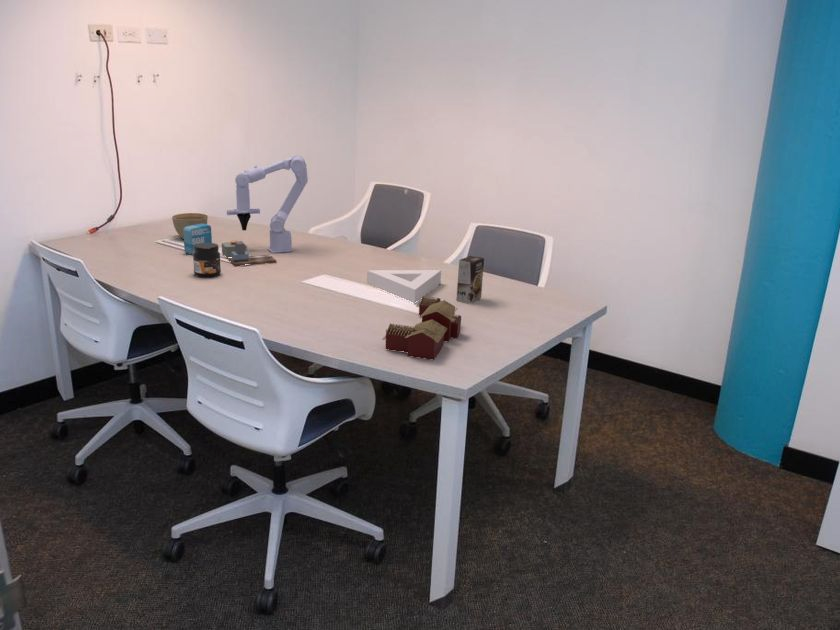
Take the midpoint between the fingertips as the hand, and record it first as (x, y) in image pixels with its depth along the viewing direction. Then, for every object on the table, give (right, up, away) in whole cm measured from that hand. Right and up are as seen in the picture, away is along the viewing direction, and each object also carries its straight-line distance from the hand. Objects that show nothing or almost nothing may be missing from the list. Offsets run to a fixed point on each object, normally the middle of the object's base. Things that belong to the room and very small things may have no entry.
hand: (244, 230), depth 334 cm
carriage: (+2, -14, -17) cm, 23 cm away
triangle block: (+70, -29, -42) cm, 87 cm away
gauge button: (-3, -10, -6) cm, 12 cm away
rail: (+7, -15, -14) cm, 22 cm away
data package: (-20, -10, -3) cm, 22 cm away
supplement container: (-6, -22, -35) cm, 42 cm away
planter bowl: (-30, -2, +19) cm, 35 cm away
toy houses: (+82, -45, -87) cm, 128 cm away
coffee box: (+98, -33, -51) cm, 115 cm away
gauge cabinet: (-3, -12, -6) cm, 13 cm away
